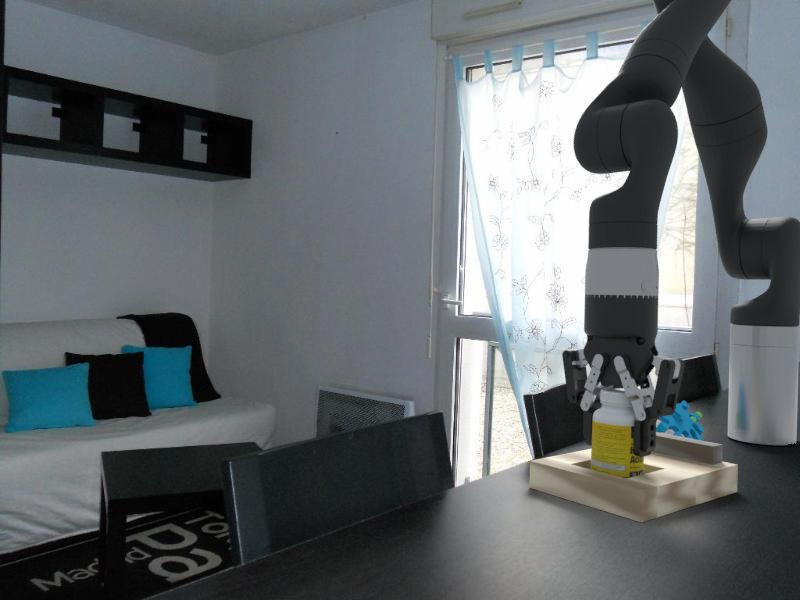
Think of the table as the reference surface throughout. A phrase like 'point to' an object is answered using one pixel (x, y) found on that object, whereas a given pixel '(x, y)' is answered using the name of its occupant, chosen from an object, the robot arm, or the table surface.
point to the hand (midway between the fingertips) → (617, 449)
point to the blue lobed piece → (682, 422)
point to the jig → (641, 479)
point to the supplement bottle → (615, 436)
